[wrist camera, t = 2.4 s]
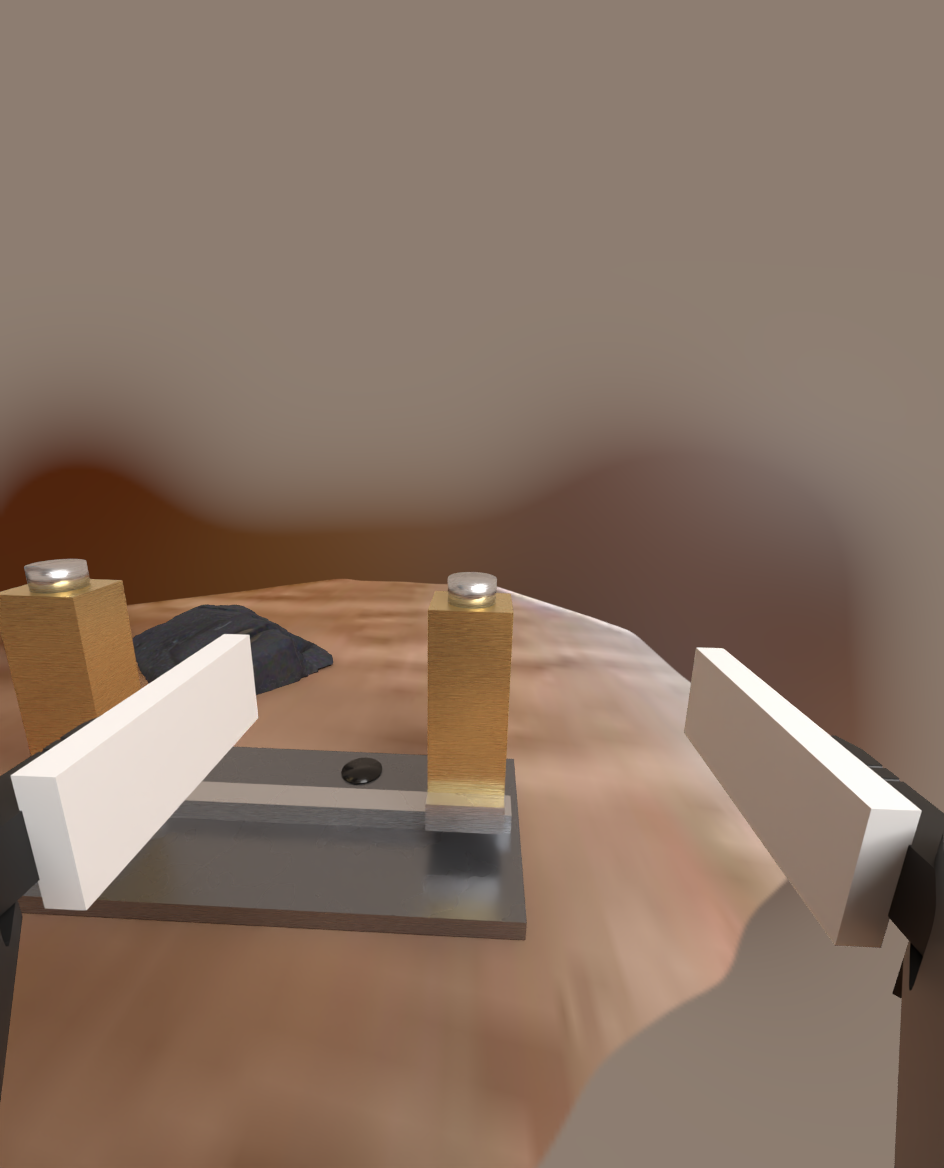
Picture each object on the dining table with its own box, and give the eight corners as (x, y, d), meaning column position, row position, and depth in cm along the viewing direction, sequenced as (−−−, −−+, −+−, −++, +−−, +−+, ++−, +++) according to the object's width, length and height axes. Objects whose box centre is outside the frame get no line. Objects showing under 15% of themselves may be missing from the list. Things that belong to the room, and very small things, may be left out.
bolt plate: (-32, 909, 23) (-130, 596, 19) (145, 755, 34) (108, 541, 30) (525, 940, 22) (547, 620, 18) (513, 771, 33) (525, 555, 29)
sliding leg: (425, 846, 25) (425, 590, 21) (439, 759, 32) (441, 556, 29) (502, 850, 25) (515, 593, 21) (499, 762, 32) (509, 558, 28)
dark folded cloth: (259, 617, 64) (256, 583, 63) (344, 673, 49) (342, 628, 48) (119, 646, 54) (112, 606, 52) (171, 728, 38) (163, 673, 37)
